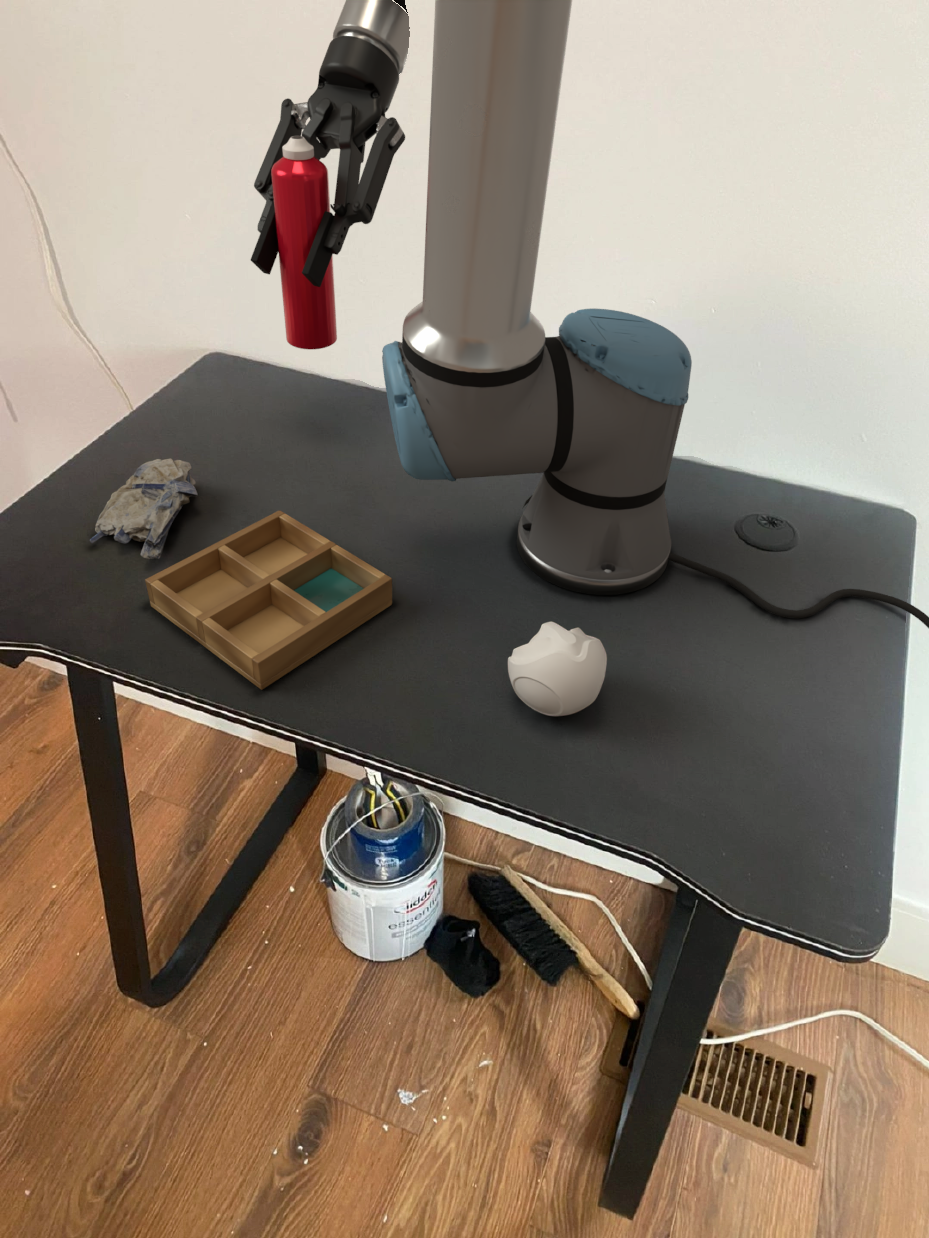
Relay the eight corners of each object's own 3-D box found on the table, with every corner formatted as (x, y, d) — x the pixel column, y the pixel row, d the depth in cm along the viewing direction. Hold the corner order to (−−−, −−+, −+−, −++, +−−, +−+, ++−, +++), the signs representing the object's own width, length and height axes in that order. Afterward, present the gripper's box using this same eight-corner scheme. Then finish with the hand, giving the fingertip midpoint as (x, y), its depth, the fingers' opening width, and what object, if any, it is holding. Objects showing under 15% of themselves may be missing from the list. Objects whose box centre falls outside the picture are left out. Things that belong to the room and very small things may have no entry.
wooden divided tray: (392, 604, 85) (392, 578, 83) (261, 690, 76) (258, 663, 74) (282, 535, 92) (279, 509, 90) (150, 606, 83) (144, 579, 81)
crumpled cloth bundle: (146, 477, 99) (139, 443, 96) (219, 489, 98) (214, 455, 95) (74, 557, 88) (64, 521, 85) (156, 571, 87) (148, 535, 84)
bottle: (342, 330, 102) (332, 132, 89) (330, 352, 98) (318, 147, 85) (294, 326, 102) (277, 128, 89) (280, 347, 98) (260, 143, 85)
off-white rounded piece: (569, 659, 80) (581, 590, 75) (618, 717, 75) (634, 648, 70) (489, 686, 77) (495, 616, 72) (534, 748, 72) (545, 678, 67)
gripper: (458, 97, 93) (378, 310, 93) (306, 71, 99) (230, 272, 98) (435, 44, 86) (348, 275, 86) (272, 20, 92) (190, 236, 91)
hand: (285, 273), depth 92 cm, fingers closed on bottle, 5 cm apart
